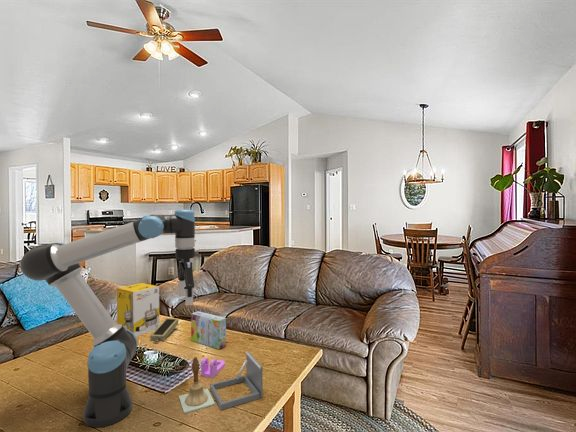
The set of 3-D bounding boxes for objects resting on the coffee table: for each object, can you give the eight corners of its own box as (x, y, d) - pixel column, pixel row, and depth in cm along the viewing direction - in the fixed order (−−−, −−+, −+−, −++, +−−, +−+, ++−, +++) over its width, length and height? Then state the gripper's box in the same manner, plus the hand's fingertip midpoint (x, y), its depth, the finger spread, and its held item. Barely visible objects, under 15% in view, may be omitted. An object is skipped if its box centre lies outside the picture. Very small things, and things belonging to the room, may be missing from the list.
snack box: (226, 346, 171) (226, 317, 170) (219, 350, 166) (219, 320, 165) (198, 337, 182) (198, 310, 181) (190, 340, 177) (190, 313, 177)
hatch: (220, 410, 118) (220, 377, 117) (209, 389, 131) (209, 359, 131) (262, 397, 126) (262, 366, 125) (248, 379, 139) (248, 351, 138)
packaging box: (133, 337, 182) (133, 292, 181) (117, 331, 190) (116, 288, 189) (159, 328, 195) (159, 286, 194) (143, 322, 204) (142, 282, 203)
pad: (184, 413, 116) (184, 412, 116) (178, 397, 125) (178, 396, 125) (215, 404, 121) (215, 403, 121) (207, 389, 131) (207, 388, 131)
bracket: (212, 378, 140) (212, 362, 139) (201, 376, 141) (201, 360, 141) (227, 363, 152) (226, 349, 152) (216, 362, 154) (216, 347, 153)
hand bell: (195, 409, 118) (195, 365, 117) (180, 401, 122) (179, 359, 121) (212, 397, 125) (212, 355, 124) (197, 390, 129) (196, 350, 128)
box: (179, 325, 195) (178, 317, 194) (162, 348, 174) (161, 339, 172) (166, 325, 196) (165, 317, 195) (147, 347, 174) (146, 339, 173)
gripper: (202, 251, 123) (202, 307, 124) (188, 244, 145) (188, 291, 146) (181, 252, 120) (181, 310, 120) (170, 245, 142) (171, 293, 142)
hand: (185, 300), depth 133 cm, fingers open, 13 cm apart
